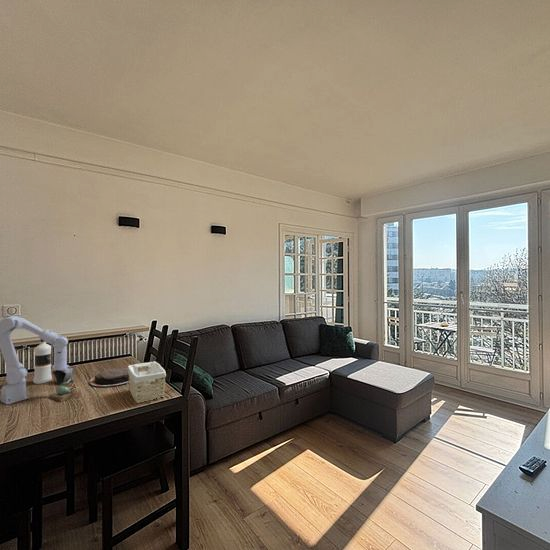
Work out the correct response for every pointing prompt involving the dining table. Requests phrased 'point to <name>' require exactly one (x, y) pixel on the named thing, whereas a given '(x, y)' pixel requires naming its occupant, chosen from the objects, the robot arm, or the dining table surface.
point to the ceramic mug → (69, 376)
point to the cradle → (66, 396)
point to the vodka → (42, 363)
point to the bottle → (63, 390)
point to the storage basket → (146, 381)
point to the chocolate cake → (111, 378)
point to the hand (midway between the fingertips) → (60, 383)
